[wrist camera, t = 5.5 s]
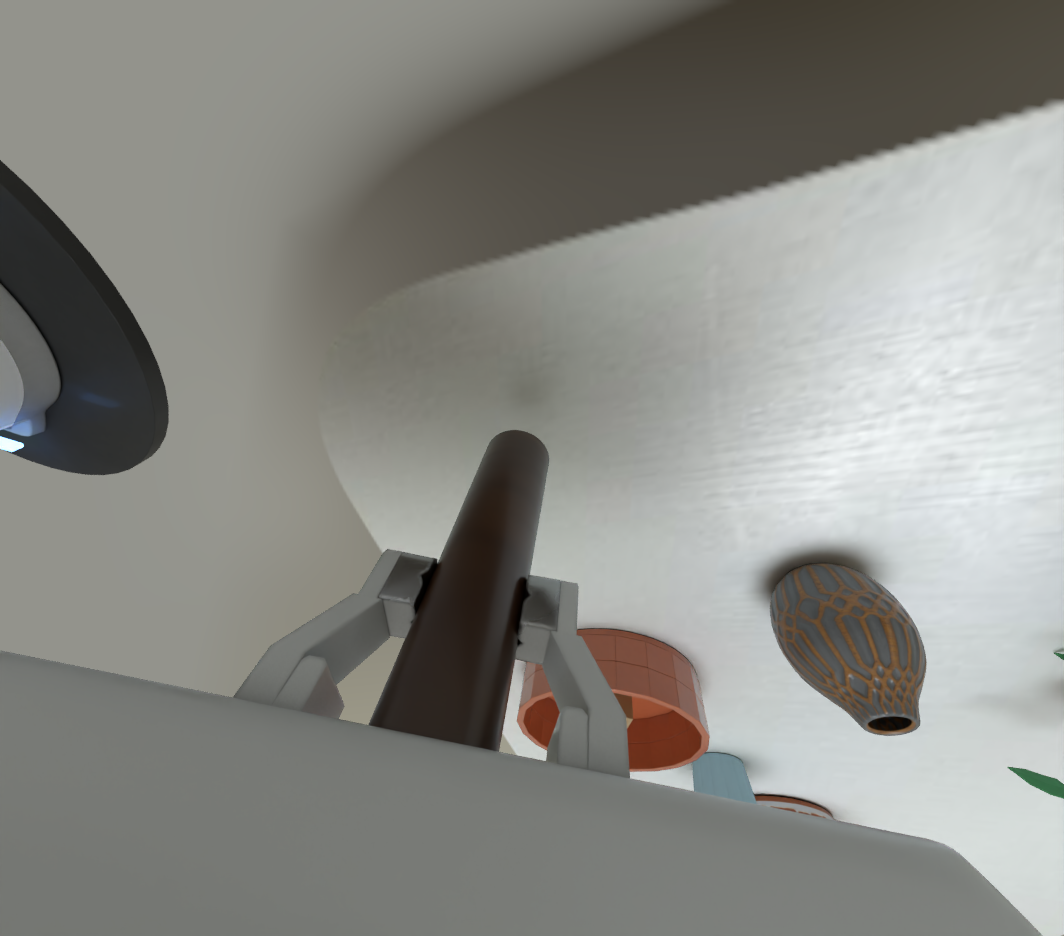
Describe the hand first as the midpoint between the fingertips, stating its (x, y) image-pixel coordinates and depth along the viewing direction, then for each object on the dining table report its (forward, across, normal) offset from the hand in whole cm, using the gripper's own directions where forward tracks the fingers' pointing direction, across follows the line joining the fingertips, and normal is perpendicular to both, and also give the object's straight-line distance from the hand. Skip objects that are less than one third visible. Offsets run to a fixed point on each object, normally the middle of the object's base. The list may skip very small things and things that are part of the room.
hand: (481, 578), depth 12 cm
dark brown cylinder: (+7, 0, 0) cm, 7 cm away
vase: (+12, -20, +10) cm, 26 cm away
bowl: (+12, -10, +28) cm, 32 cm away
